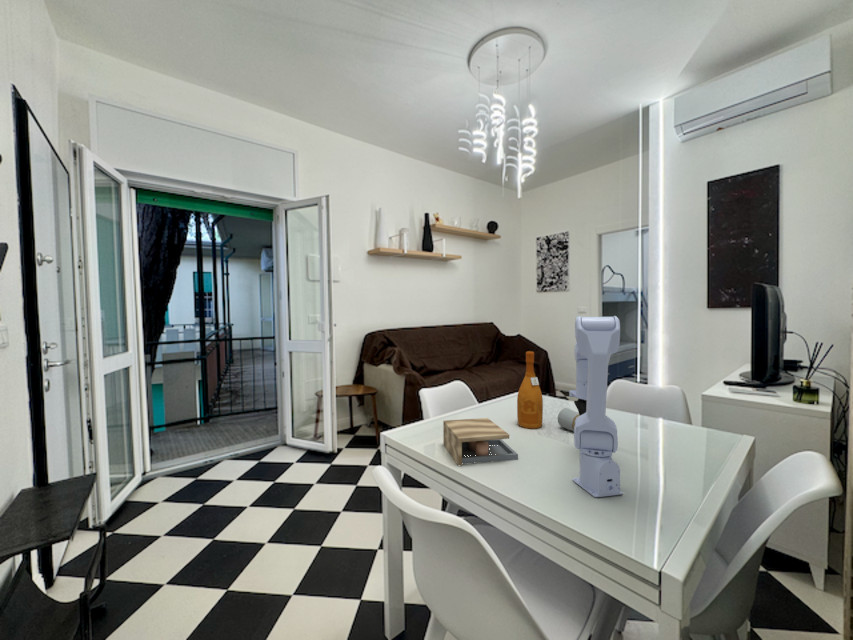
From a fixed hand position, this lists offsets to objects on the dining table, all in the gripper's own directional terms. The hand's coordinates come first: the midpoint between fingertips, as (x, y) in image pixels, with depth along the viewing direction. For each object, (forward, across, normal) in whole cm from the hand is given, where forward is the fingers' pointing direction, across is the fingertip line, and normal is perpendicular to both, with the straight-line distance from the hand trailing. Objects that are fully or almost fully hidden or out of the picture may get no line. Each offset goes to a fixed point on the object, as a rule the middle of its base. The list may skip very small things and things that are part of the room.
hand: (585, 424), depth 112 cm
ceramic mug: (+10, +24, -12) cm, 29 cm away
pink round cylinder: (+10, +5, +33) cm, 35 cm away
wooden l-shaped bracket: (+10, +10, +34) cm, 36 cm away
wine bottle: (+10, +31, +2) cm, 33 cm away
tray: (+11, +9, +31) cm, 34 cm away
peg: (+10, +12, +33) cm, 36 cm away
